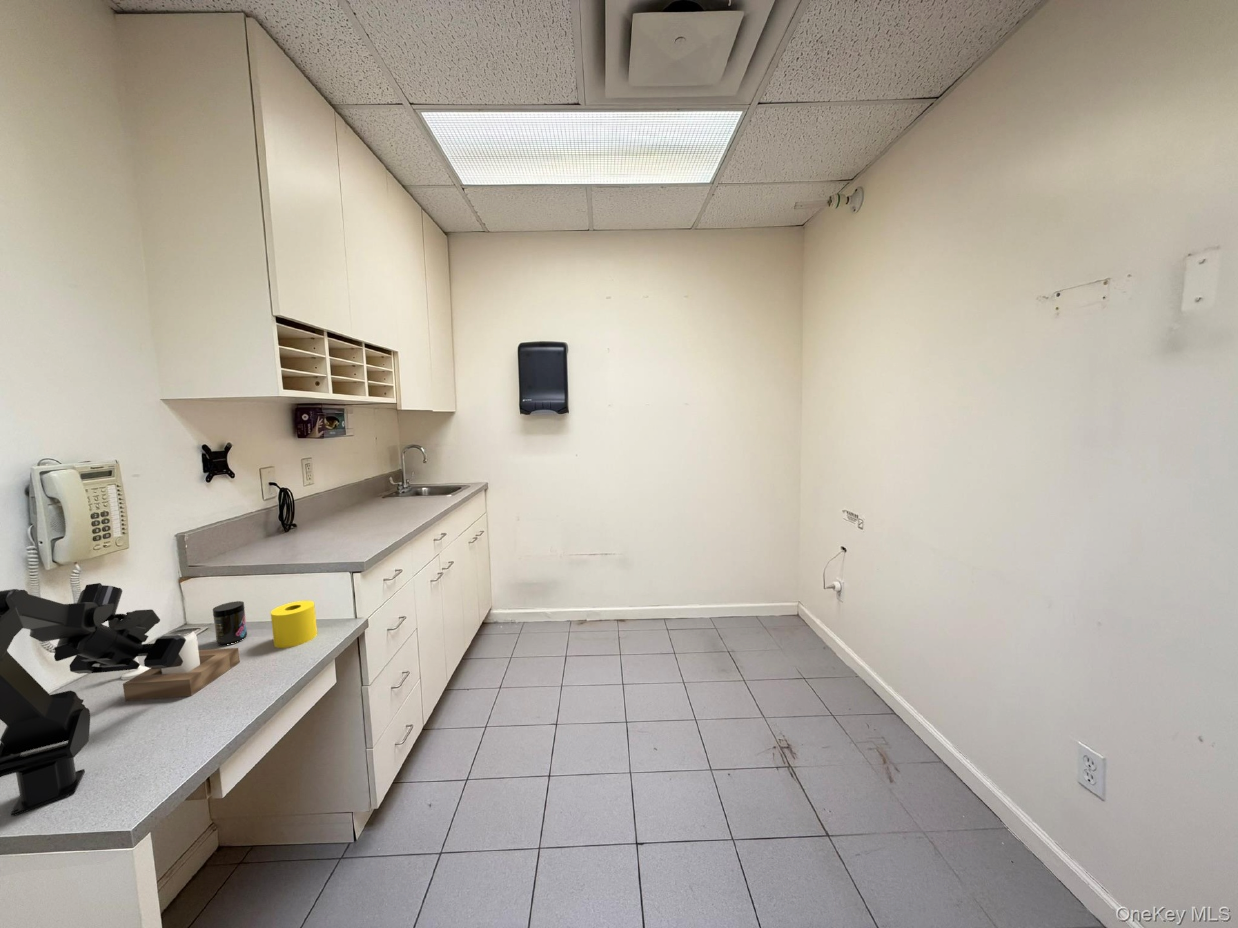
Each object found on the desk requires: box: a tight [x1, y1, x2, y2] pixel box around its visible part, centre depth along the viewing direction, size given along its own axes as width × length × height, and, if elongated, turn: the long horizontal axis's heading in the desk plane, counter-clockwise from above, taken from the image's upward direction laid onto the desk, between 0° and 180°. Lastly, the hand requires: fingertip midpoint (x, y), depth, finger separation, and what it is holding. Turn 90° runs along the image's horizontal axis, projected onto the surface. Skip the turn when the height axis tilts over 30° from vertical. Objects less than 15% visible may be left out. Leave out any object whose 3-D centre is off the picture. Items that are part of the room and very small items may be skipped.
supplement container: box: [212, 600, 248, 646], centre depth 124 cm, size 7×7×10 cm
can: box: [161, 627, 200, 674], centre depth 104 cm, size 6×6×12 cm
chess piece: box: [121, 656, 150, 681], centre depth 108 cm, size 5×5×10 cm
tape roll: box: [270, 600, 318, 649], centre depth 124 cm, size 10×10×9 cm
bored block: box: [122, 647, 241, 702], centre depth 105 cm, size 14×14×4 cm
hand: (159, 665), depth 98 cm, fingers open, 9 cm apart
